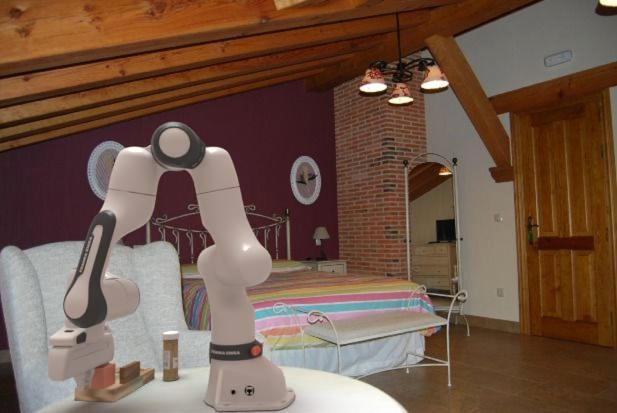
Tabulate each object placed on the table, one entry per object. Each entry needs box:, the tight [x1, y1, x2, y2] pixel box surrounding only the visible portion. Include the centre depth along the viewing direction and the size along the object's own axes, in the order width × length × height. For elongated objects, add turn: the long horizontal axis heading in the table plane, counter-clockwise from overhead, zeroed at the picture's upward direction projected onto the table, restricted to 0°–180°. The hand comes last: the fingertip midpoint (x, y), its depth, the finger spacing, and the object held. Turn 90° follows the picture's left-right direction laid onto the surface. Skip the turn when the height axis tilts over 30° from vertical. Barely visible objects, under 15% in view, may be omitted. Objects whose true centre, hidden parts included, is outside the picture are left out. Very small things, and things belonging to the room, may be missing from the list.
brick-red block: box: [88, 362, 117, 389], centre depth 118 cm, size 5×5×5 cm
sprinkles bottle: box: [162, 330, 180, 382], centre depth 133 cm, size 5×5×13 cm
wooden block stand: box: [74, 360, 156, 403], centre depth 125 cm, size 11×20×7 cm, turn 170°
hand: (83, 389), depth 111 cm, fingers closed
